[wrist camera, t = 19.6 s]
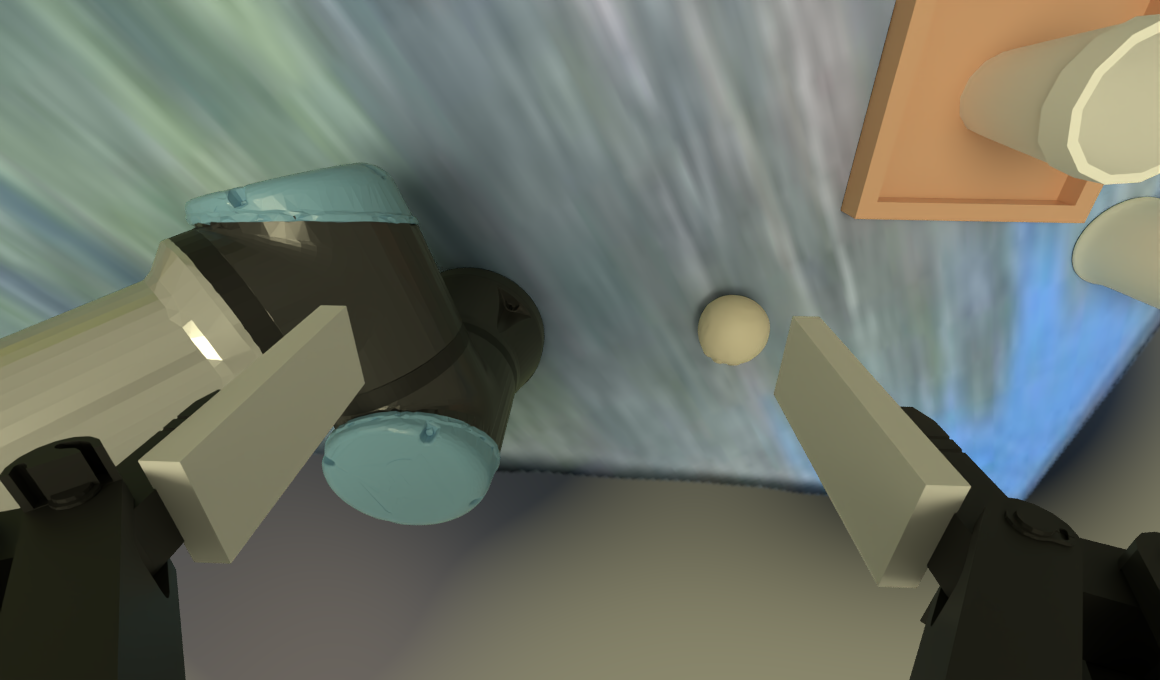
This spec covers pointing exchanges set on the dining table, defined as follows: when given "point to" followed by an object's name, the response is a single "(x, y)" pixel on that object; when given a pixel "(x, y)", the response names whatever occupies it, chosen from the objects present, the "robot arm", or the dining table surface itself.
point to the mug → (1123, 250)
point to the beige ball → (733, 329)
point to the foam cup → (1076, 102)
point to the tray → (935, 129)
